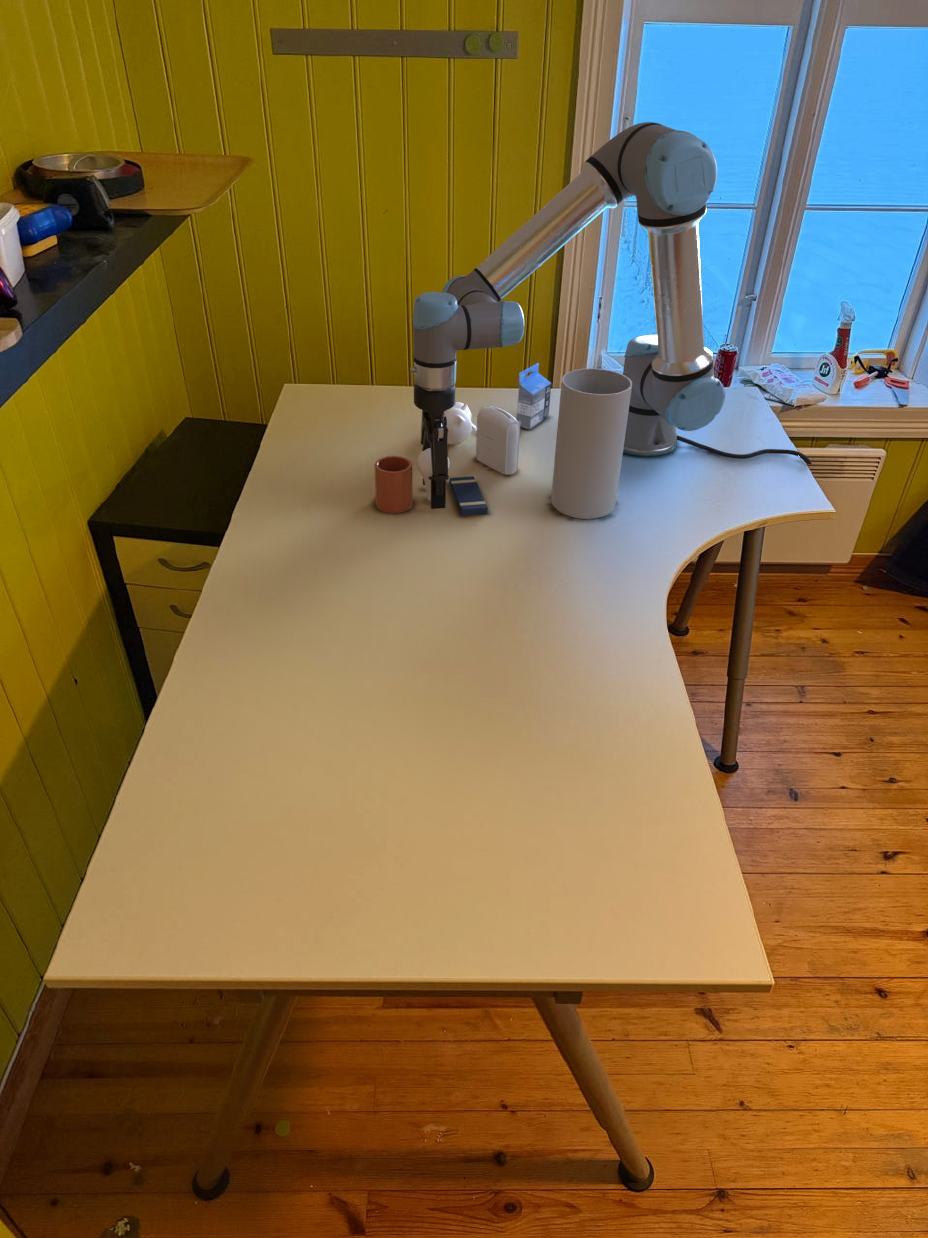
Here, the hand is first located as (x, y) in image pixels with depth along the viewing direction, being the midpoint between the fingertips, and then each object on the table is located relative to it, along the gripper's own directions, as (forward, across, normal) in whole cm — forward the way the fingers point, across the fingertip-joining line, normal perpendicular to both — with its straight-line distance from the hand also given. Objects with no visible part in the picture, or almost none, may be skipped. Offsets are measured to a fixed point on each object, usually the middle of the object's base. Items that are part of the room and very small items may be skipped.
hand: (433, 495), depth 176 cm
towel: (+1, 0, +7) cm, 7 cm away
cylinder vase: (+1, +6, +28) cm, 29 cm away
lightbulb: (+1, 0, 0) cm, 1 cm away
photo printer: (+1, -13, +15) cm, 20 cm away
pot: (+1, 0, -8) cm, 8 cm away
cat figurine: (+1, -27, +10) cm, 28 cm away
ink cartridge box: (+1, -33, +28) cm, 44 cm away
